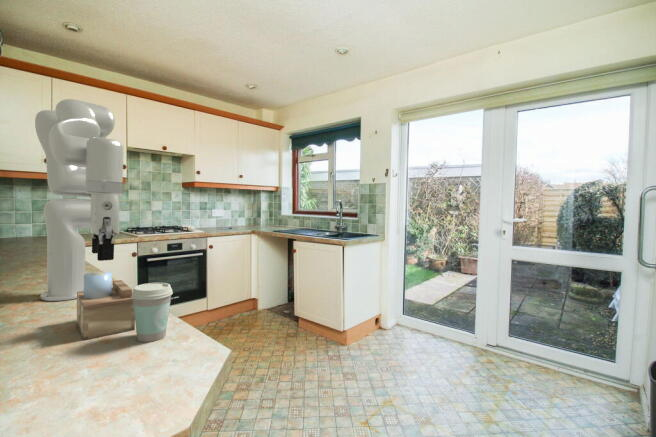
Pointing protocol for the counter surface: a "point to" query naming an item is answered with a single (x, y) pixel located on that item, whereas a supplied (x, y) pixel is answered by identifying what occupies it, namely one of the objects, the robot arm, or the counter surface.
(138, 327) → the coffee cup
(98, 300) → the lid
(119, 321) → the crate
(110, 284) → the pale blue rounded block
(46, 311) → the counter surface
